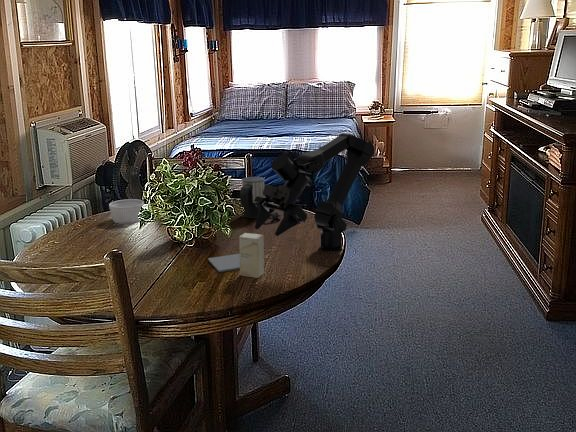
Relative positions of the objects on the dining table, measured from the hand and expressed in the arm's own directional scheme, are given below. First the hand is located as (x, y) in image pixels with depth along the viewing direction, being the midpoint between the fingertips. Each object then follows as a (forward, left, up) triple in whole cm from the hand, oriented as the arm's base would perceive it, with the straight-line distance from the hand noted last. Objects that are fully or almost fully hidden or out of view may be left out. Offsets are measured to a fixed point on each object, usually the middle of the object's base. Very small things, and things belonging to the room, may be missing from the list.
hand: (265, 232), depth 185 cm
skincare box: (+4, +4, -12) cm, 13 cm away
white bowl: (+53, -59, -12) cm, 81 cm away
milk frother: (+1, -57, -12) cm, 59 cm away
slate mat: (+10, -7, -12) cm, 17 cm away
